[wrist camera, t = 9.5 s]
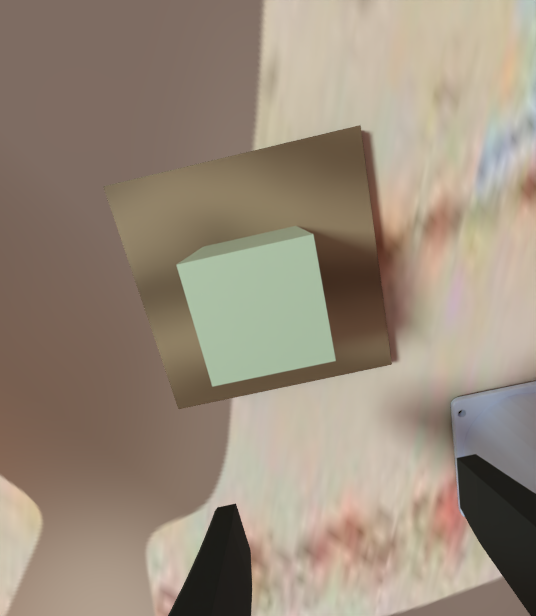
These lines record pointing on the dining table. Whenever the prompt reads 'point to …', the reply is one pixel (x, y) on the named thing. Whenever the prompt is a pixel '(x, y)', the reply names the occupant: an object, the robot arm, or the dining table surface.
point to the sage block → (258, 305)
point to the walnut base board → (247, 222)
